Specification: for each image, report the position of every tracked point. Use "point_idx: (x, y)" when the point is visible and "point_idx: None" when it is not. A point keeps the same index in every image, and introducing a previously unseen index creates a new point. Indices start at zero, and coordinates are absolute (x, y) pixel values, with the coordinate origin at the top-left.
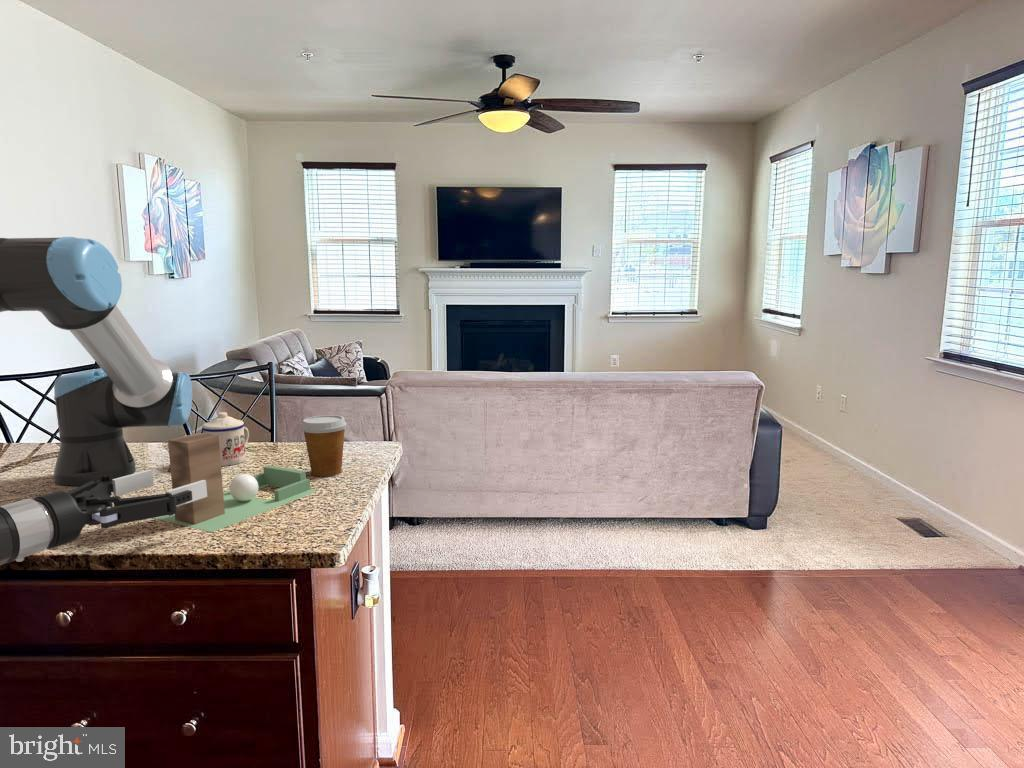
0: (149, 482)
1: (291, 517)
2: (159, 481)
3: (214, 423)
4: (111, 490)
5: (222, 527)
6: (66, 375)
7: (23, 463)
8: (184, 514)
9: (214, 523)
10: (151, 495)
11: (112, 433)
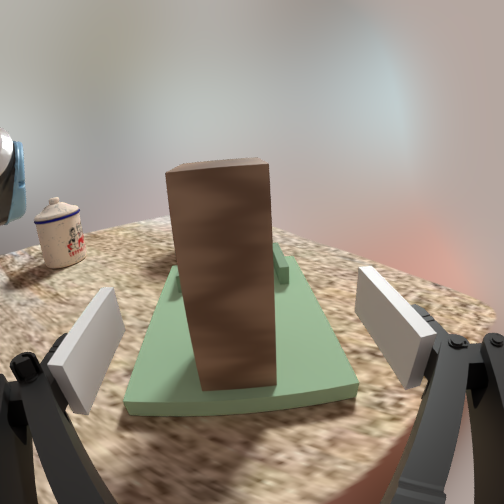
0: (118, 326)
1: (340, 300)
2: (19, 304)
3: (50, 211)
4: (63, 402)
5: (346, 363)
6: None
7: None
8: (238, 374)
9: (306, 363)
10: (438, 378)
11: None
